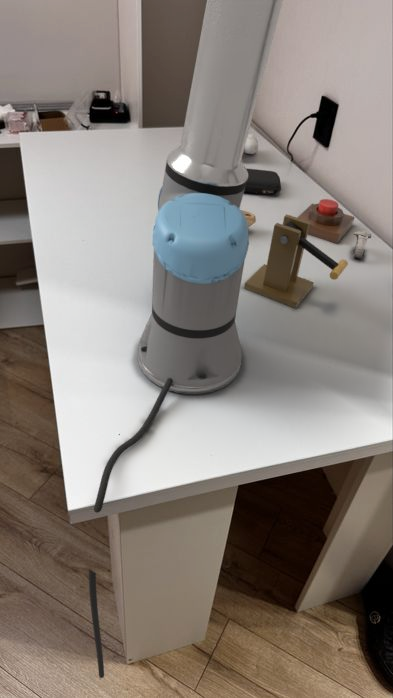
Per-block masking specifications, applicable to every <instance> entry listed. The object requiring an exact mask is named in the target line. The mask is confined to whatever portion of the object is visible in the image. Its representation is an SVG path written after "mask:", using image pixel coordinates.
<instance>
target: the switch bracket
mask: <svg viewBox="0 0 393 698" xmlns="http://www.w3.org/2000/svg"><path fill="white" fill-rule="evenodd" d="M297 217H298V216H297ZM297 217H296V216H293V215H290V214H285V215H284V216H283V221H282V223H279V222H276V223H275V224H274V226H273V229H272V230H273V231H272V235H271V240H270V246H269V250H268V251H269V252H268V256H267V260H266V261H267V262H266V264H263V265H262V266H261V267H260V268H259V269H258V270H257V271H256V272H255V273H254V274H253V275H252V276H250V278H248V279H247V280H246V281H245V282H244V289H245V290H248V291H250V292H253V293H255V294H258V295H260V296H263V297H266V298H268V299H271V300H273V301H276V302H279V303H280V304H281V303H282V304H284V305H286V306H288V307H291V308H294V309H297V307H298V306H299V305H300V304H301V303H302V301H304V299H305V297H307V296H308V294H309V293H310V292H311V290H312V289H313V288H314V284H315V282H314V281H311V280H310V279H307V278H304V277H301V276H299V273H300V268H301V265H302V259H303V255H304V251H305V249H304V248H303V247H301V246H300V245H299V240H300V235H301V236H302V237H303V238H305V239H306V240H308V239H307V238H308V235H309V234H308V230H309V226H310V222H309V221H306V220H303V219H300V218H297ZM289 221H291V222H293V223H294V224H295V225H297V226H298V227H299V228H301V229H302V230H303V232H302V233H301V231H300V230H297V229H294V228H291V227H288V226H285V225H286V224H287V223H288V222H289Z"/></svg>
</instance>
